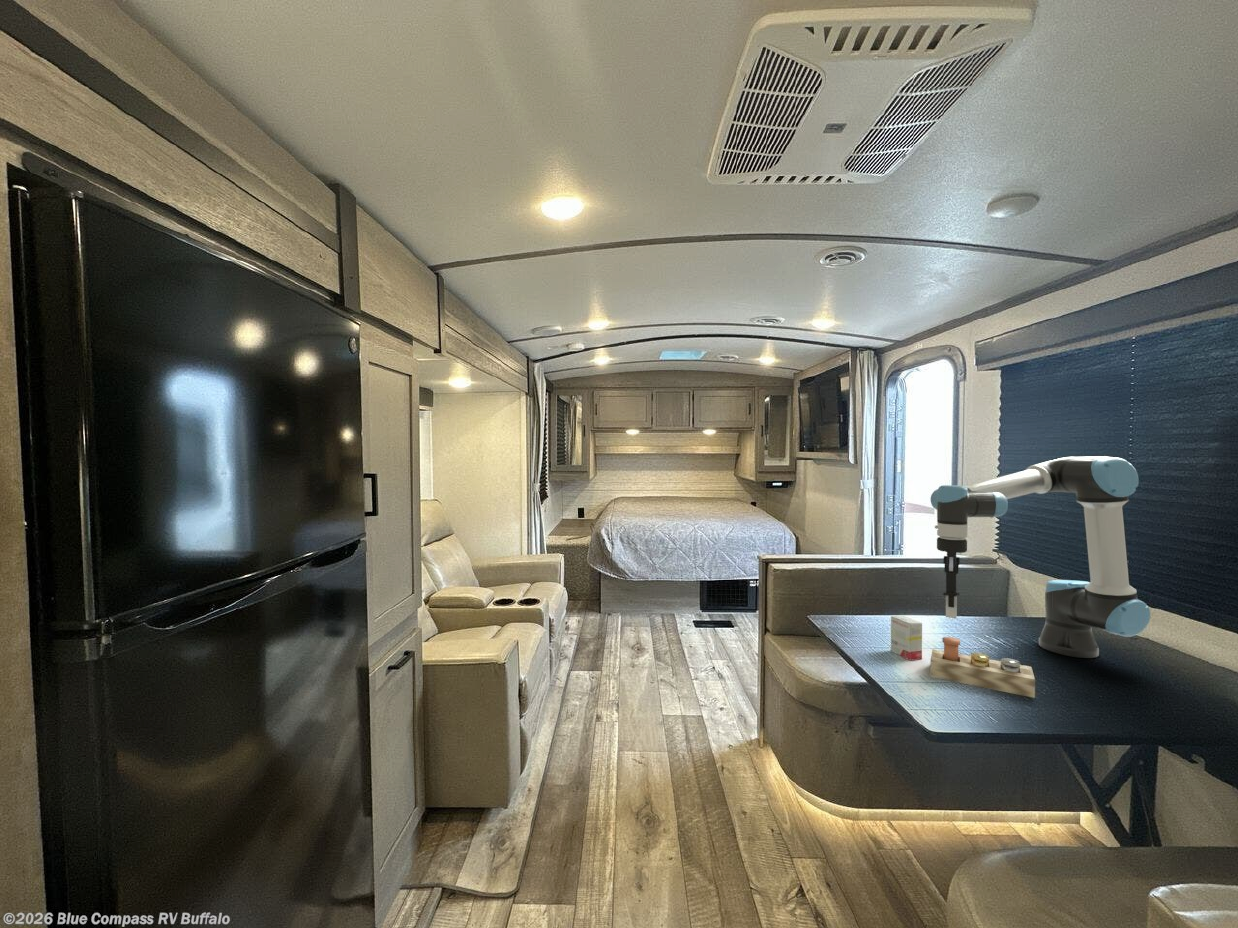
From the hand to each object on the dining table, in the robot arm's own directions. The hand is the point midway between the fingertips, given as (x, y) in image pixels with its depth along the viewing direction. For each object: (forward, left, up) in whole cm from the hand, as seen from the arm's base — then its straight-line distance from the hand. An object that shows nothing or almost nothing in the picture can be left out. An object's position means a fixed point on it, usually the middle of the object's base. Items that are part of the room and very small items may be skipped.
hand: (951, 617), depth 153 cm
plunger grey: (-12, +8, -17) cm, 22 cm away
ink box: (+5, -15, -17) cm, 24 cm away
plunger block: (-6, +4, -17) cm, 19 cm away
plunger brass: (-6, +4, -17) cm, 18 cm away
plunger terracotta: (0, 0, -13) cm, 13 cm away
